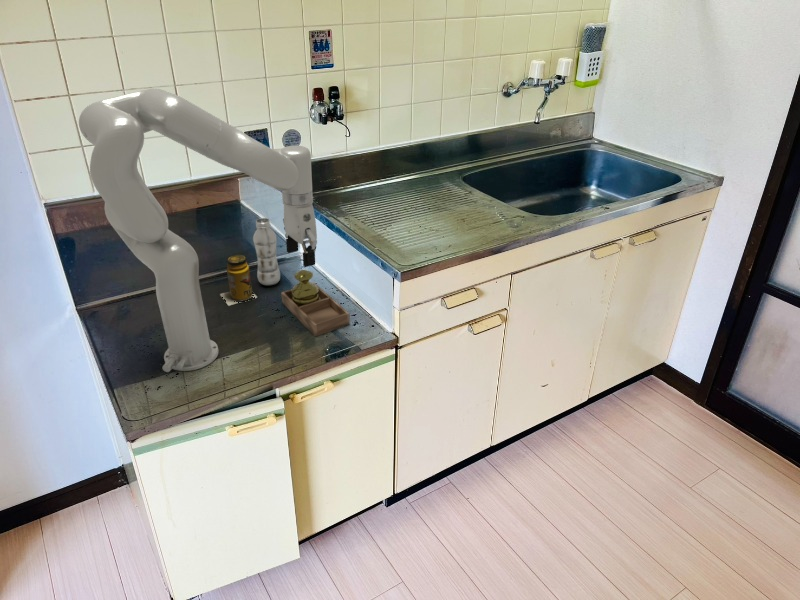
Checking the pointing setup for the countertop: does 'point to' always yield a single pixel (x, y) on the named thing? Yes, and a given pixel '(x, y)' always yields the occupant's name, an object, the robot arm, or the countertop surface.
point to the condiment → (238, 280)
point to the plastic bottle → (266, 253)
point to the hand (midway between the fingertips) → (300, 258)
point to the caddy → (318, 313)
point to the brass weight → (304, 289)
